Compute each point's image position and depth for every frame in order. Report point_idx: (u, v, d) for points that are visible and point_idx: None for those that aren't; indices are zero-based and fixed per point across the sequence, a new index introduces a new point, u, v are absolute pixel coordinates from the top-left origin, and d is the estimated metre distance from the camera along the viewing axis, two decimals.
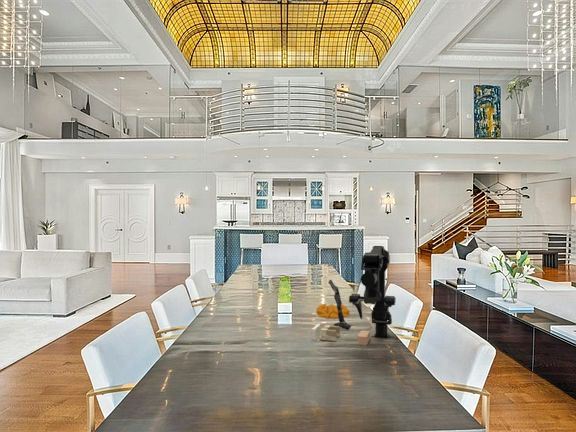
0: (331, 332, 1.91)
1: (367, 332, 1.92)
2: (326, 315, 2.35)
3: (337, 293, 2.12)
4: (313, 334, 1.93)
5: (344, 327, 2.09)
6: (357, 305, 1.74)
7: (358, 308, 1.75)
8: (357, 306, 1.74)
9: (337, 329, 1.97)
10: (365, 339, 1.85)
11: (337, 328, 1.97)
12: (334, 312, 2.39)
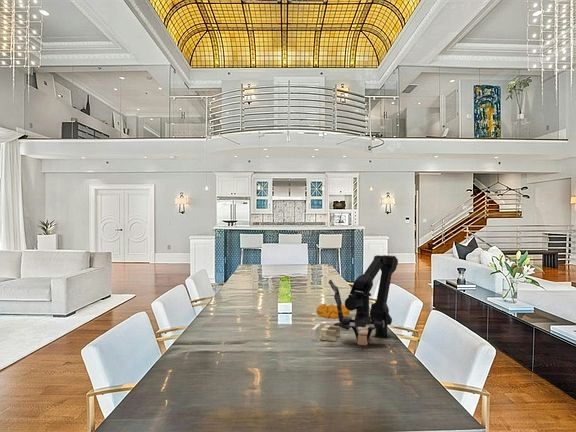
0: (331, 332, 1.91)
1: (367, 331, 1.92)
2: (326, 315, 2.35)
3: (337, 293, 2.12)
4: (313, 334, 1.93)
5: (344, 327, 2.09)
6: (354, 328, 1.87)
7: (355, 331, 1.87)
8: (354, 329, 1.87)
9: (337, 329, 1.97)
10: (365, 338, 1.85)
11: (337, 328, 1.97)
12: (334, 312, 2.40)
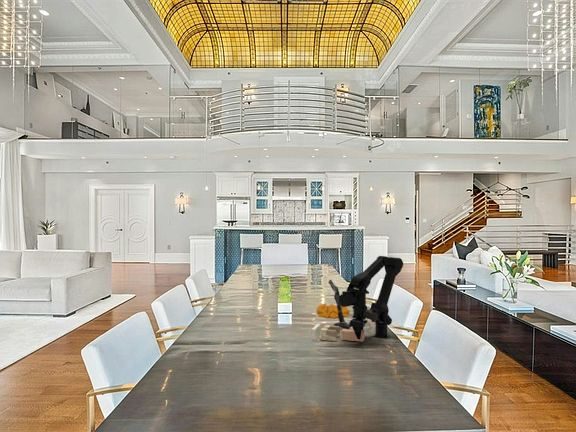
0: (331, 332, 1.91)
1: (348, 329, 1.94)
2: (326, 315, 2.35)
3: (337, 293, 2.12)
4: (313, 334, 1.93)
5: (344, 327, 2.09)
6: (363, 326, 1.87)
7: (361, 329, 1.88)
8: (362, 327, 1.87)
9: (337, 329, 1.97)
10: (364, 333, 1.92)
11: (337, 328, 1.97)
12: (334, 312, 2.40)
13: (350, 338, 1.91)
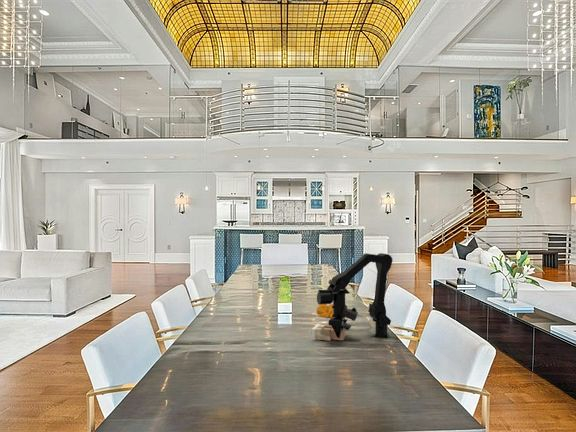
0: (326, 331, 1.92)
1: (329, 328, 1.97)
2: (326, 315, 2.36)
3: None
4: (313, 334, 1.93)
5: (344, 327, 2.09)
6: (342, 325, 1.90)
7: (340, 328, 1.91)
8: (341, 326, 1.90)
9: None
10: (344, 332, 1.95)
11: None
12: None
13: None
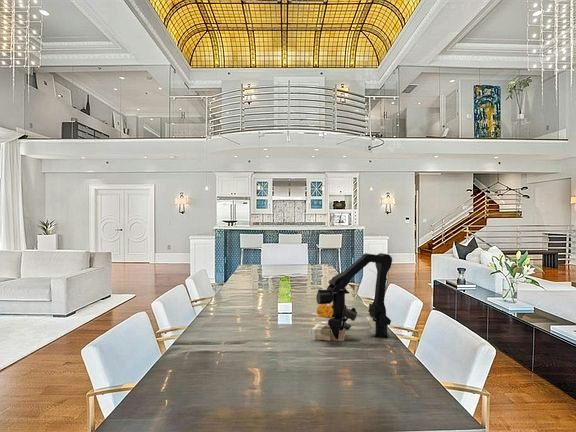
0: (326, 331, 1.92)
1: (329, 329, 1.97)
2: (326, 315, 2.36)
3: None
4: (313, 334, 1.93)
5: (344, 327, 2.09)
6: (341, 326, 1.88)
7: (339, 329, 1.89)
8: (340, 328, 1.88)
9: None
10: (344, 333, 1.95)
11: None
12: None
13: None
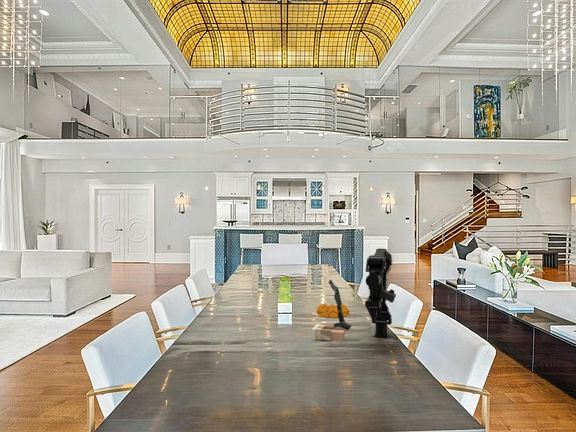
0: (326, 331, 1.92)
1: (329, 329, 1.97)
2: (326, 314, 2.36)
3: (337, 293, 2.12)
4: (313, 334, 1.93)
5: (344, 327, 2.09)
6: (379, 308, 1.77)
7: (376, 311, 1.78)
8: (377, 309, 1.77)
9: (332, 329, 1.98)
10: (344, 333, 1.95)
11: (332, 328, 1.98)
12: (334, 312, 2.41)
13: None
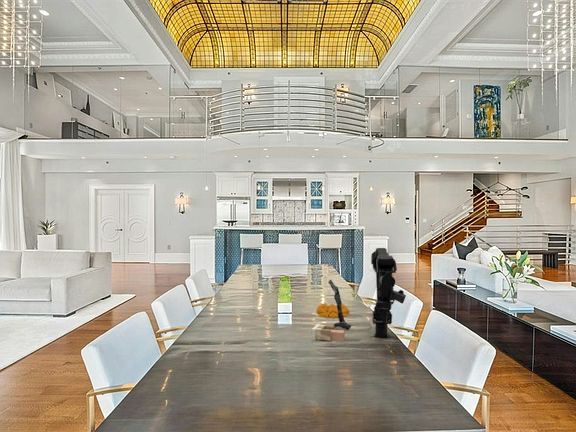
0: (326, 331, 1.92)
1: (329, 329, 1.97)
2: (326, 314, 2.36)
3: (337, 293, 2.12)
4: (313, 334, 1.93)
5: (344, 327, 2.09)
6: (389, 309, 1.75)
7: (387, 312, 1.76)
8: (388, 310, 1.75)
9: (332, 329, 1.98)
10: (344, 333, 1.95)
11: (332, 328, 1.98)
12: (334, 311, 2.41)
13: None
